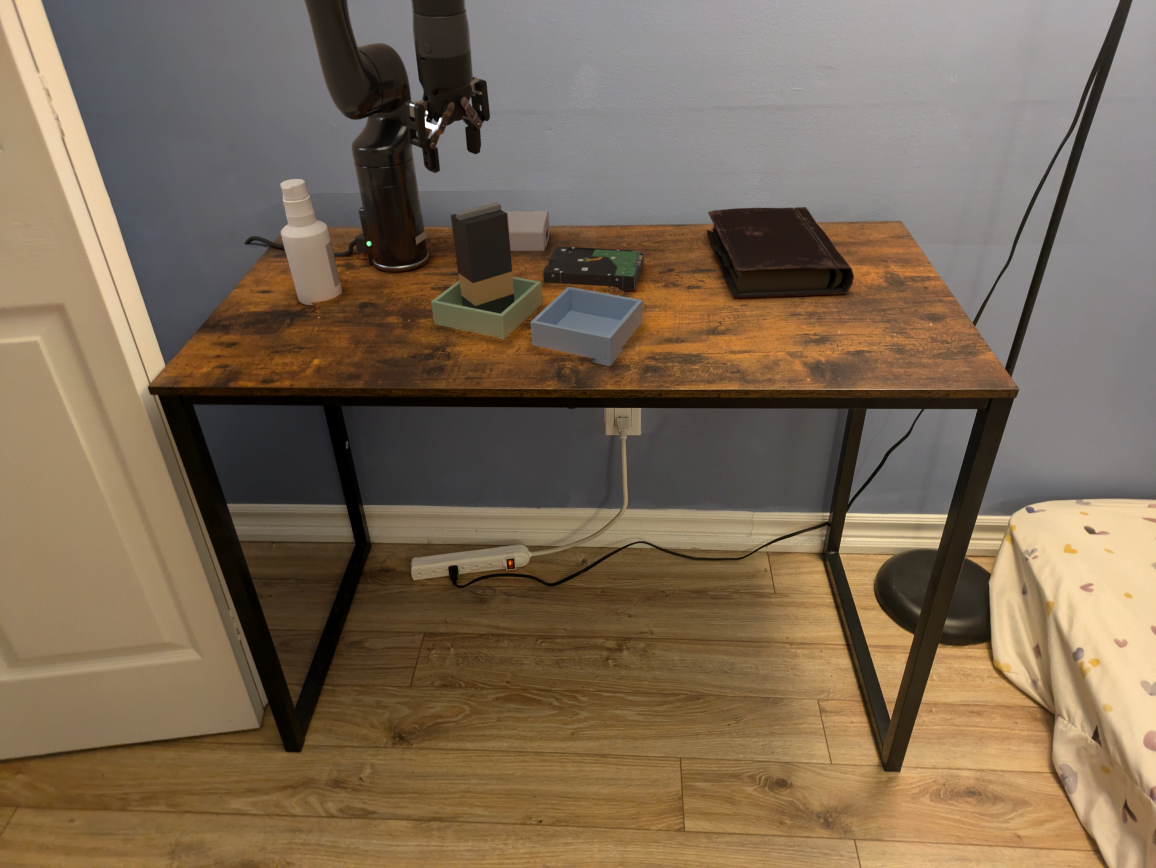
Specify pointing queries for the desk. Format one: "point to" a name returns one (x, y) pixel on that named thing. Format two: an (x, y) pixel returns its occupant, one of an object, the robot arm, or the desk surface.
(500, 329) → the left bin
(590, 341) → the right bin
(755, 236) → the diary
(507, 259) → the coffee bag
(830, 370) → the desk surface
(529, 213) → the charger
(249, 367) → the desk surface
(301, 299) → the spray bottle
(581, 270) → the disk drive
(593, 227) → the desk surface
